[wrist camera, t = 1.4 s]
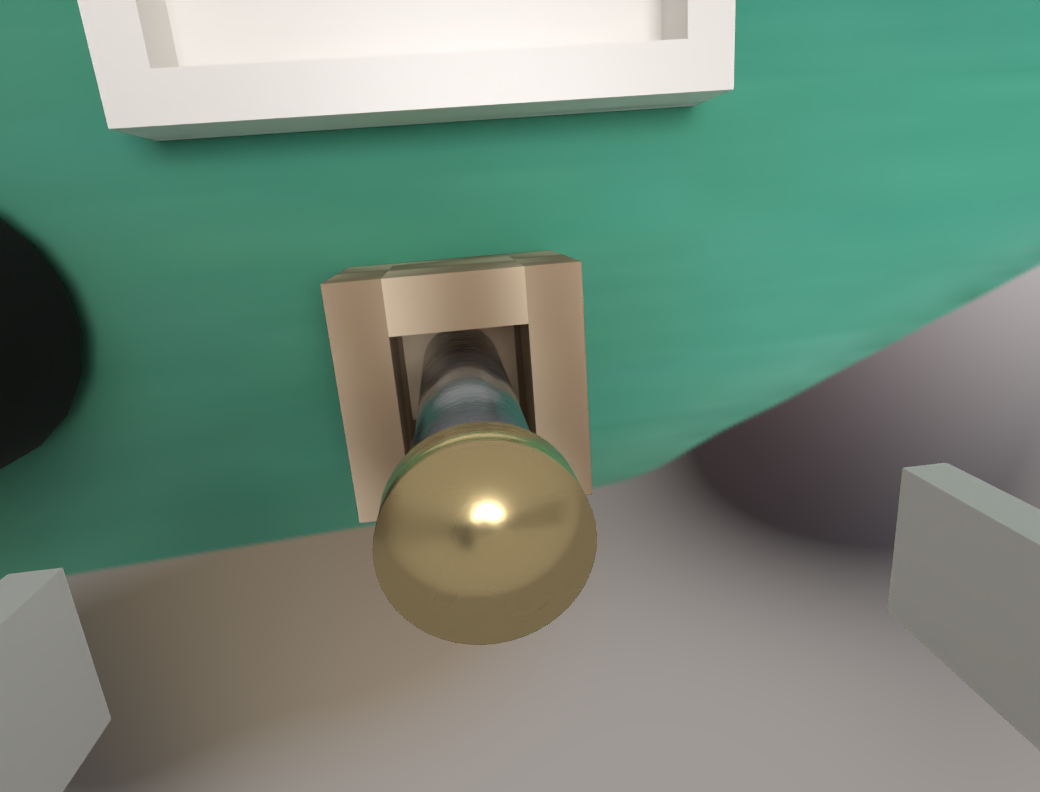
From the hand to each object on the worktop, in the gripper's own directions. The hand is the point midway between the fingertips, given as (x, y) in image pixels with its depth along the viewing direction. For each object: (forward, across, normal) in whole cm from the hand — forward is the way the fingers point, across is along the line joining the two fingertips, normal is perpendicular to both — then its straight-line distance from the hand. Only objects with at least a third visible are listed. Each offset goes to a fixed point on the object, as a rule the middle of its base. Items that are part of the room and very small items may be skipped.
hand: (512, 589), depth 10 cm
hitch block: (+17, 0, 0) cm, 17 cm away
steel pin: (+16, 0, 0) cm, 16 cm away
